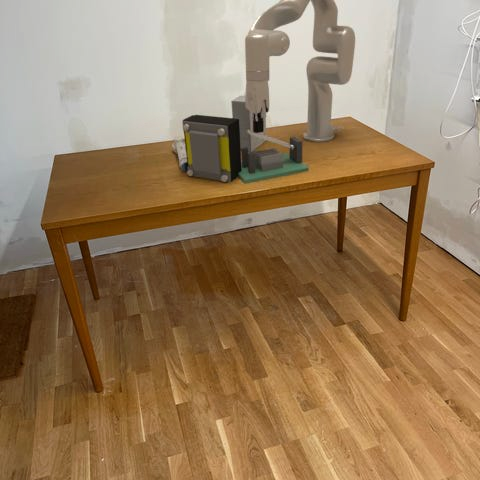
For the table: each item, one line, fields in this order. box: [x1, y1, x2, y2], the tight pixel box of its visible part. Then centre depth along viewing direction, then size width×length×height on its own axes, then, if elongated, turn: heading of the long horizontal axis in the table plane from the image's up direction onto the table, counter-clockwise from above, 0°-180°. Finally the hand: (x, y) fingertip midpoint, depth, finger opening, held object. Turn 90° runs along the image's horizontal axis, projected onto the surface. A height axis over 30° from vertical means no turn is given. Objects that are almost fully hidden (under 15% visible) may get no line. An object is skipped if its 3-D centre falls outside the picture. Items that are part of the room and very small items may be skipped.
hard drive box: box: [230, 91, 267, 153], centre depth 183 cm, size 16×8×20 cm, turn 154°
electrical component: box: [181, 114, 242, 183], centre depth 159 cm, size 18×10×20 cm, turn 62°
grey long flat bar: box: [247, 130, 295, 150], centre depth 161 cm, size 18×4×1 cm, turn 111°
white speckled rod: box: [171, 135, 188, 172], centre depth 177 cm, size 5×7×25 cm
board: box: [237, 136, 309, 184], centre depth 164 cm, size 24×16×9 cm, turn 111°
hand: (258, 131), depth 158 cm, fingers closed
